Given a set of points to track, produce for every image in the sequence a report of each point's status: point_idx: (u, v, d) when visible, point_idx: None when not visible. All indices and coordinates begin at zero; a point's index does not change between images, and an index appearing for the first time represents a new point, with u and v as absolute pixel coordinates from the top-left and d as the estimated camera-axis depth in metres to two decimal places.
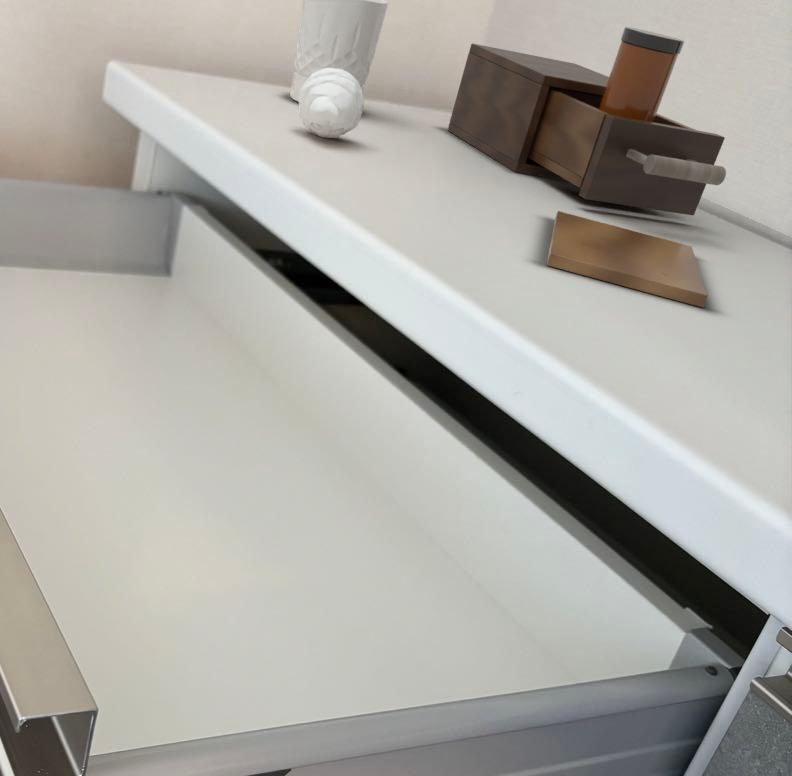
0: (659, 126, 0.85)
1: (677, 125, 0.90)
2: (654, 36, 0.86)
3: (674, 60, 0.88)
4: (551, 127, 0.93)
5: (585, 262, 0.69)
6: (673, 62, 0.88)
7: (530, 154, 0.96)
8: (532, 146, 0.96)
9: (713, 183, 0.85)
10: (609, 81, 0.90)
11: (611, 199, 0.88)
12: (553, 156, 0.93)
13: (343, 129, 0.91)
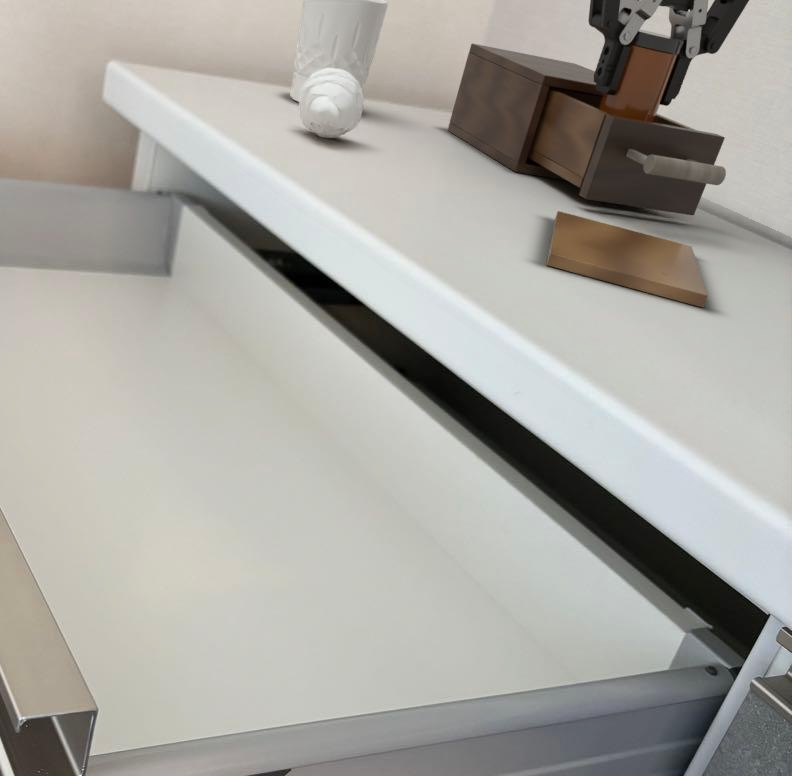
0: (659, 126, 0.85)
1: (677, 125, 0.90)
2: (654, 36, 0.86)
3: (674, 60, 0.88)
4: (551, 127, 0.93)
5: (585, 262, 0.69)
6: (673, 62, 0.88)
7: (530, 154, 0.96)
8: (532, 146, 0.96)
9: (713, 183, 0.85)
10: None
11: (611, 199, 0.88)
12: (553, 156, 0.93)
13: (343, 129, 0.91)
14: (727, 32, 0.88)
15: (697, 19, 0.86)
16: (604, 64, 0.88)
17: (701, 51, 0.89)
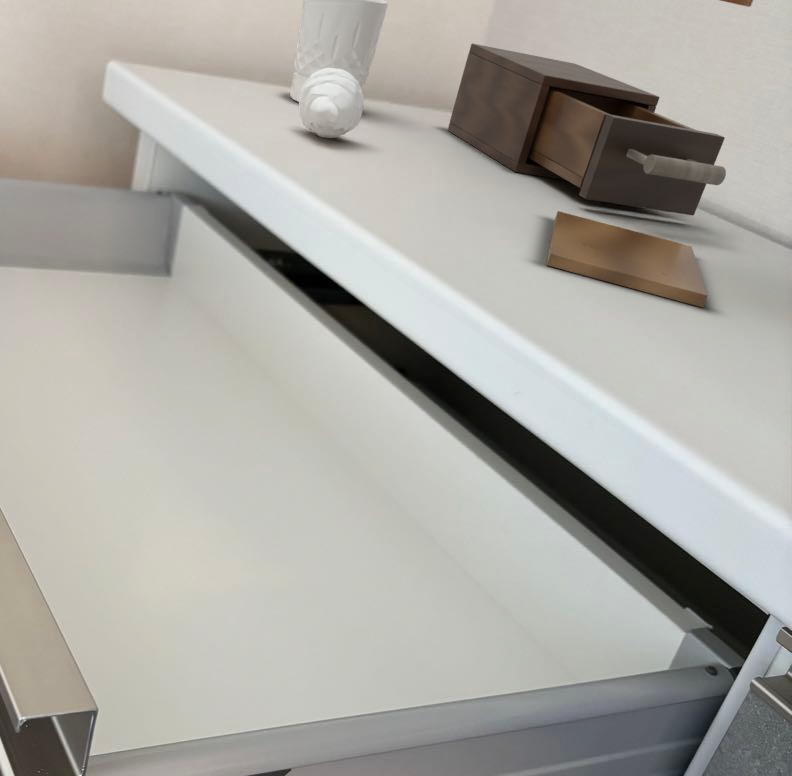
0: (659, 126, 0.85)
1: (677, 125, 0.90)
2: None
3: None
4: (551, 127, 0.93)
5: (585, 262, 0.69)
6: None
7: (530, 154, 0.96)
8: (532, 146, 0.96)
9: (713, 183, 0.85)
10: None
11: (611, 199, 0.88)
12: (553, 156, 0.93)
13: (343, 129, 0.91)
14: None
15: None
16: None
17: None
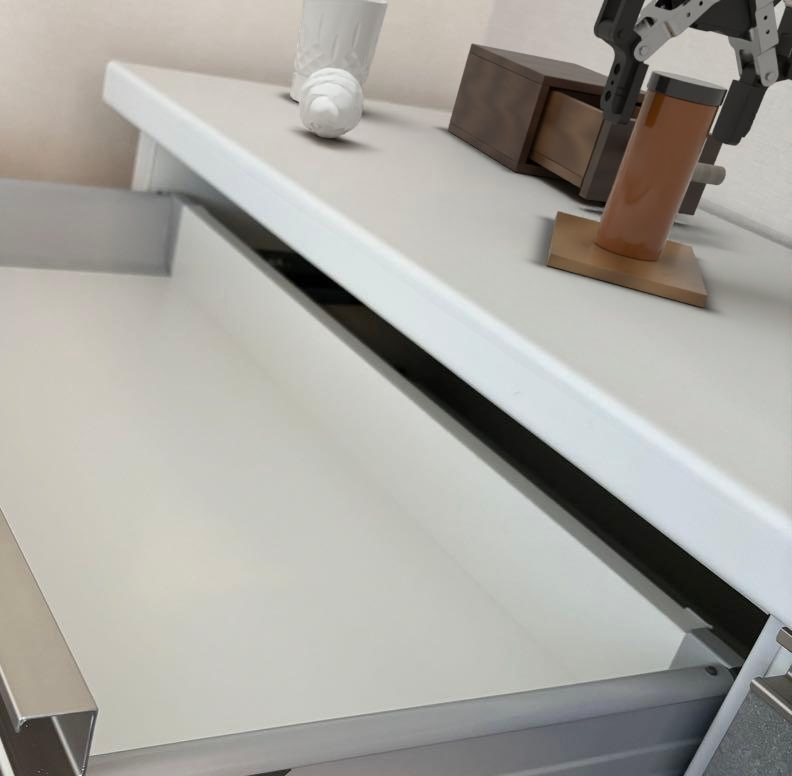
0: None
1: None
2: (690, 84, 0.67)
3: (715, 113, 0.69)
4: (551, 127, 0.93)
5: (585, 262, 0.69)
6: (713, 116, 0.69)
7: (530, 154, 0.96)
8: (532, 146, 0.96)
9: (713, 183, 0.85)
10: (631, 138, 0.71)
11: None
12: (553, 156, 0.93)
13: (343, 129, 0.91)
14: None
15: (766, 42, 0.67)
16: (614, 86, 0.68)
17: (780, 77, 0.70)
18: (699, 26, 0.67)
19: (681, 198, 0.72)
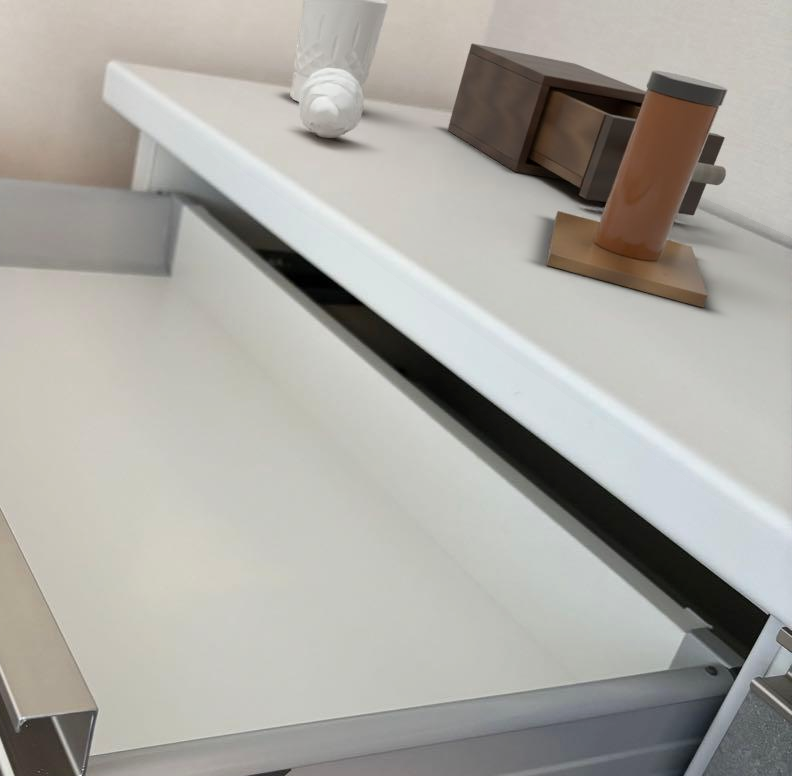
0: None
1: None
2: (690, 84, 0.67)
3: (715, 113, 0.69)
4: (551, 127, 0.93)
5: (585, 262, 0.69)
6: (713, 116, 0.69)
7: (530, 154, 0.96)
8: (532, 146, 0.96)
9: (713, 183, 0.85)
10: (631, 138, 0.71)
11: None
12: (553, 156, 0.93)
13: (343, 129, 0.91)
14: None
15: None
16: None
17: None
18: None
19: (681, 198, 0.72)
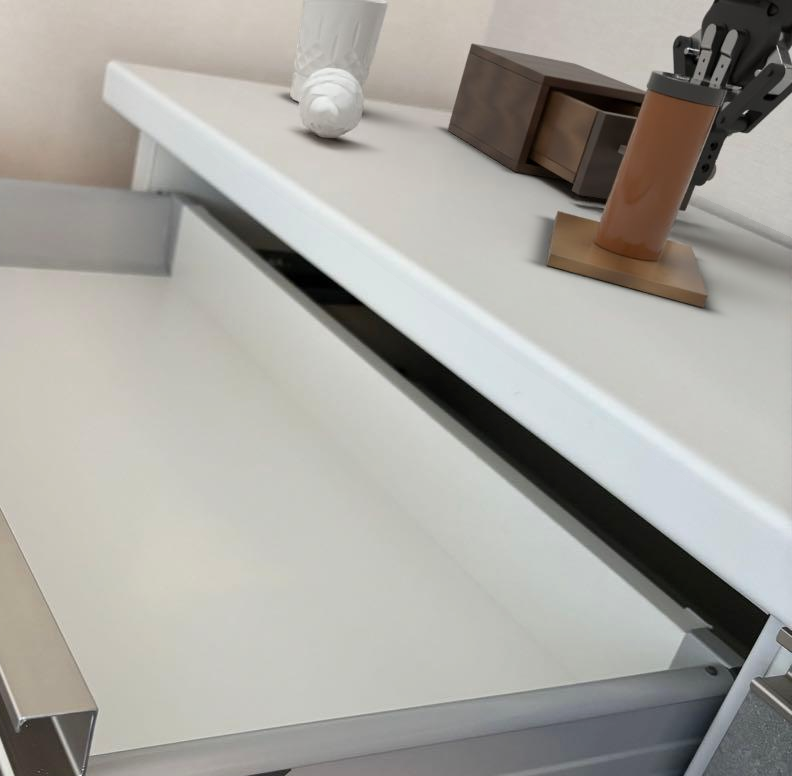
0: None
1: None
2: (690, 84, 0.67)
3: (715, 113, 0.69)
4: (544, 124, 0.94)
5: (585, 262, 0.69)
6: (713, 116, 0.69)
7: None
8: None
9: None
10: (631, 138, 0.71)
11: (603, 195, 0.89)
12: (546, 152, 0.94)
13: (343, 129, 0.91)
14: (735, 112, 0.77)
15: None
16: None
17: None
18: None
19: (681, 198, 0.72)
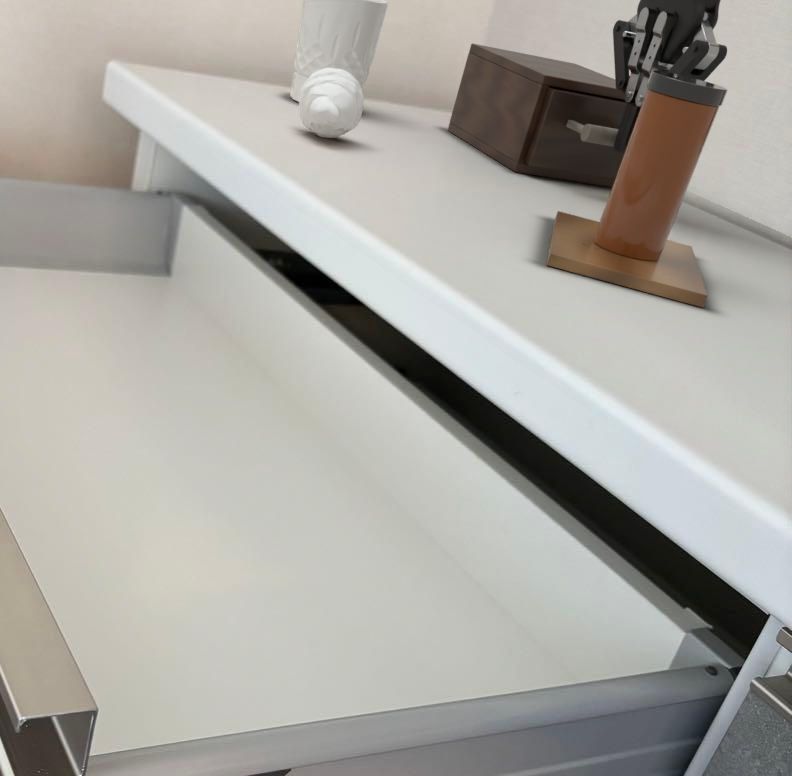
0: (596, 99, 0.93)
1: (616, 99, 0.98)
2: (690, 84, 0.67)
3: (715, 113, 0.69)
4: None
5: (585, 262, 0.69)
6: (713, 116, 0.69)
7: None
8: None
9: None
10: (631, 138, 0.71)
11: (553, 166, 0.96)
12: None
13: (343, 129, 0.91)
14: None
15: (645, 65, 0.86)
16: None
17: None
18: None
19: (681, 198, 0.72)
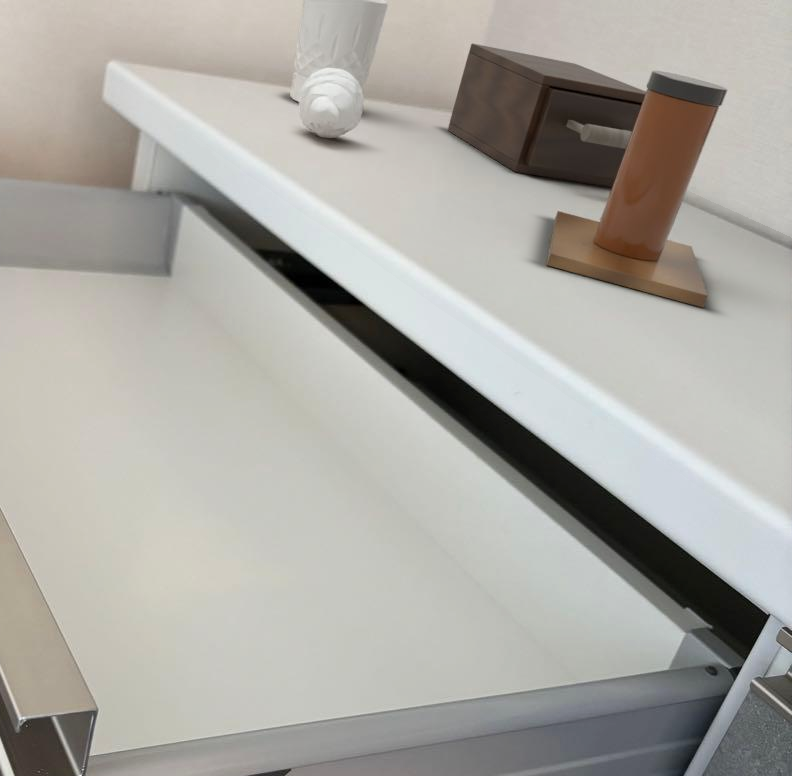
0: (596, 99, 0.93)
1: (616, 99, 0.98)
2: (690, 84, 0.67)
3: (715, 113, 0.69)
4: None
5: (585, 262, 0.69)
6: (713, 116, 0.69)
7: None
8: None
9: None
10: (631, 138, 0.71)
11: (553, 166, 0.96)
12: None
13: (343, 129, 0.91)
14: None
15: None
16: None
17: None
18: None
19: (681, 198, 0.72)
